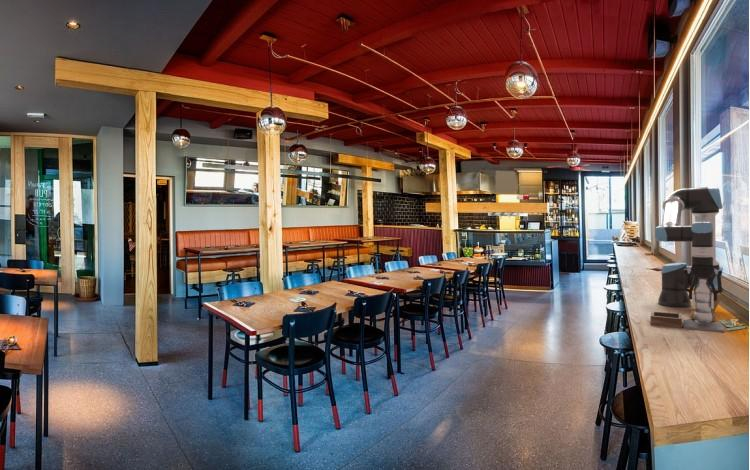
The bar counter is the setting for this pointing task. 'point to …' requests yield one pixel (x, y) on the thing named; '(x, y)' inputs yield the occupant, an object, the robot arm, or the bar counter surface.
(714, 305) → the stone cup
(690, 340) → the bar counter surface
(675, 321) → the walnut holder
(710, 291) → the plastic bottle
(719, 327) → the slate plate
